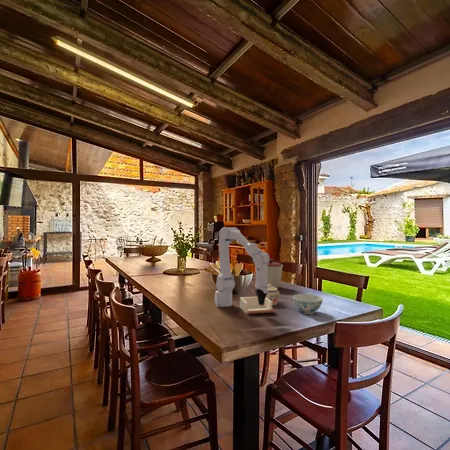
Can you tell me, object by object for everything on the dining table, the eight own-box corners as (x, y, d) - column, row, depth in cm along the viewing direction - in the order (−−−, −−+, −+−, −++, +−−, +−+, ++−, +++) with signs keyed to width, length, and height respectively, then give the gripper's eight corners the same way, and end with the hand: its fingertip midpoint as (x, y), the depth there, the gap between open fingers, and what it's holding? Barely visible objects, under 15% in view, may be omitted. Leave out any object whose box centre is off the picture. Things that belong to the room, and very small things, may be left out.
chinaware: (316, 308, 157) (316, 294, 157) (327, 316, 142) (327, 301, 142) (289, 308, 157) (289, 294, 157) (297, 317, 142) (297, 301, 142)
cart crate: (245, 315, 144) (245, 303, 144) (239, 308, 156) (239, 297, 156) (272, 313, 147) (272, 301, 147) (264, 307, 159) (264, 296, 159)
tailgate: (246, 314, 144) (248, 312, 140) (246, 313, 144) (248, 310, 140) (272, 313, 146) (275, 310, 142) (271, 311, 147) (274, 309, 143)
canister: (280, 285, 219) (280, 257, 219) (285, 290, 201) (285, 260, 201) (257, 284, 219) (257, 257, 219) (259, 290, 201) (259, 260, 201)
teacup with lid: (269, 307, 158) (269, 286, 158) (258, 304, 165) (258, 283, 165) (284, 304, 164) (285, 284, 164) (273, 301, 172) (273, 281, 172)
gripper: (274, 279, 136) (274, 308, 136) (264, 274, 150) (264, 300, 150) (260, 280, 134) (260, 309, 134) (251, 274, 149) (251, 301, 149)
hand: (261, 304), depth 142 cm, fingers closed
